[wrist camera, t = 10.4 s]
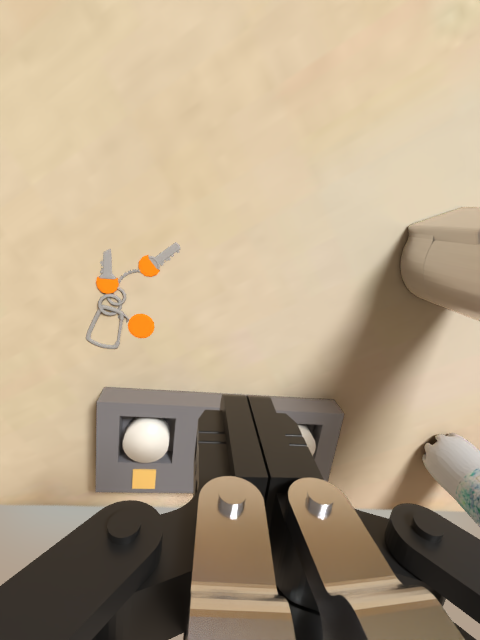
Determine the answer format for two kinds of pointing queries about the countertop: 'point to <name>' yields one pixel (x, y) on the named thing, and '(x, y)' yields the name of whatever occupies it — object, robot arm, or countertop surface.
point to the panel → (187, 435)
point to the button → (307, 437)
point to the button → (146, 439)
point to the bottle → (456, 470)
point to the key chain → (109, 284)
